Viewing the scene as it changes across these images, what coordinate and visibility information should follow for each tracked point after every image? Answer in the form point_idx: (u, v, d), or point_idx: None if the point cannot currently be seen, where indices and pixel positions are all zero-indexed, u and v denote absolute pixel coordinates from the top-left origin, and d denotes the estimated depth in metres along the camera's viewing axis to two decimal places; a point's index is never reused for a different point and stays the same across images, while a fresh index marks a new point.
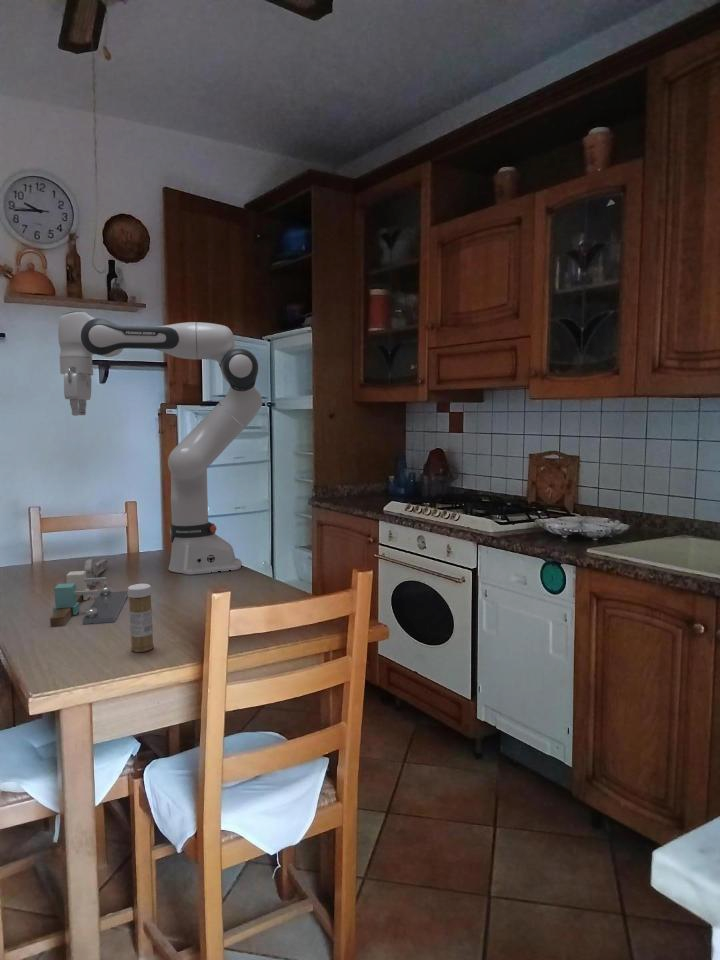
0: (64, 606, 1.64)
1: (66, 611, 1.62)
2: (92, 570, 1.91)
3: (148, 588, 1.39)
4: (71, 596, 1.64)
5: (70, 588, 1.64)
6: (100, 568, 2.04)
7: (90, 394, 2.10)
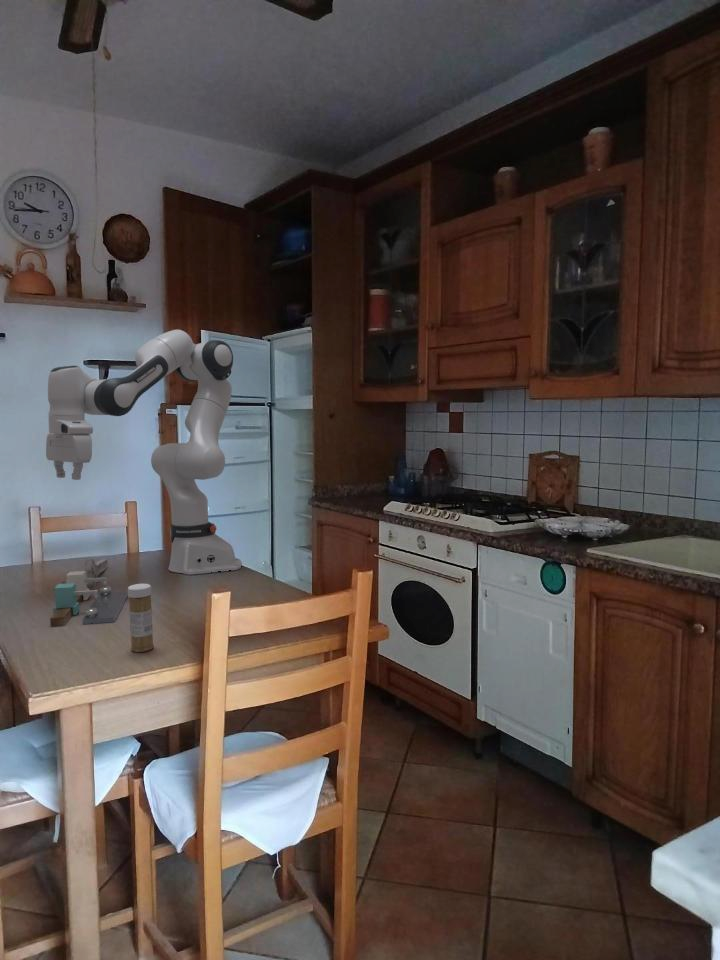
0: (64, 606, 1.64)
1: (66, 611, 1.62)
2: (92, 570, 1.91)
3: (148, 588, 1.39)
4: (71, 596, 1.64)
5: (70, 588, 1.64)
6: (100, 568, 2.04)
7: (75, 456, 1.74)
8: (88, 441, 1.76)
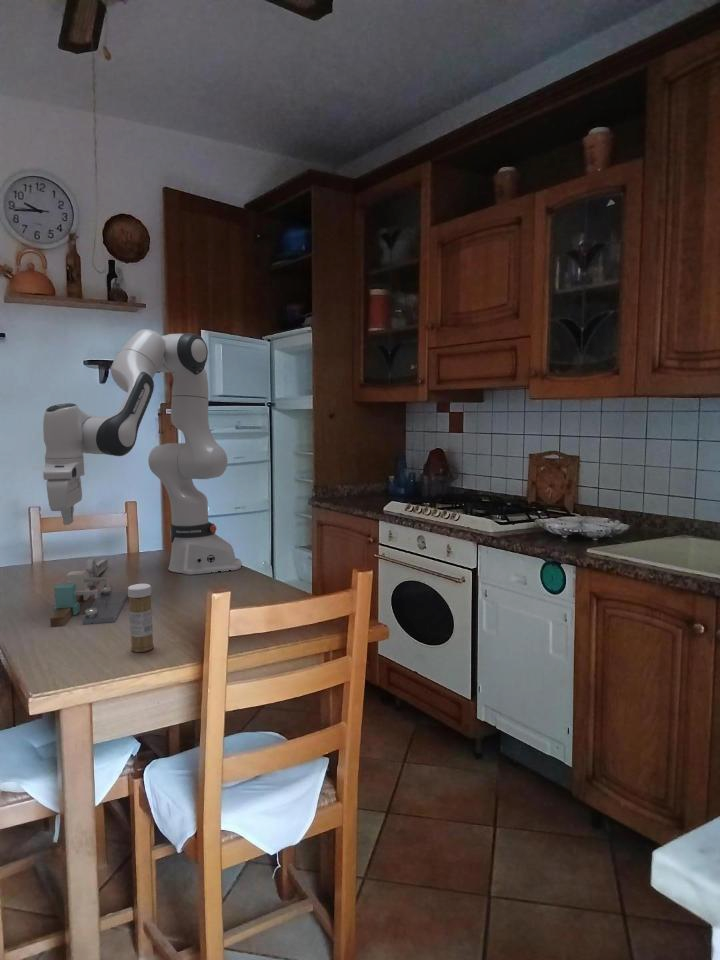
0: (64, 606, 1.64)
1: (66, 611, 1.62)
2: (93, 570, 1.91)
3: (148, 588, 1.39)
4: (71, 596, 1.64)
5: (70, 588, 1.64)
6: (101, 568, 2.04)
7: None
8: (63, 488, 1.61)
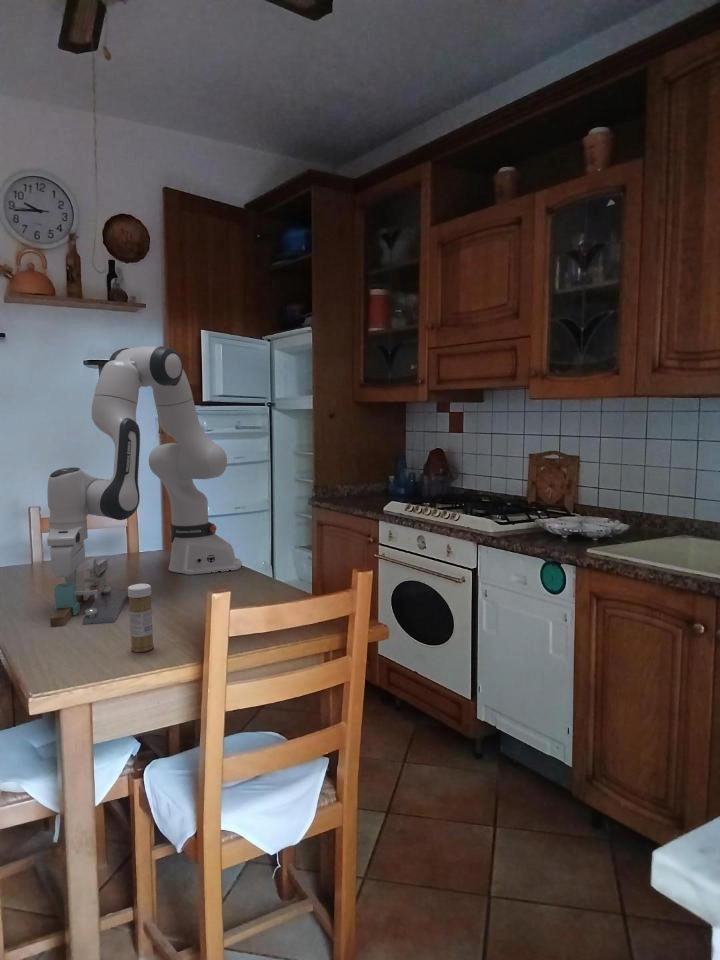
0: (64, 606, 1.64)
1: (66, 611, 1.62)
2: (94, 570, 1.91)
3: (148, 588, 1.39)
4: (71, 596, 1.64)
5: (70, 588, 1.64)
6: (101, 568, 2.04)
7: None
8: (66, 555, 1.63)
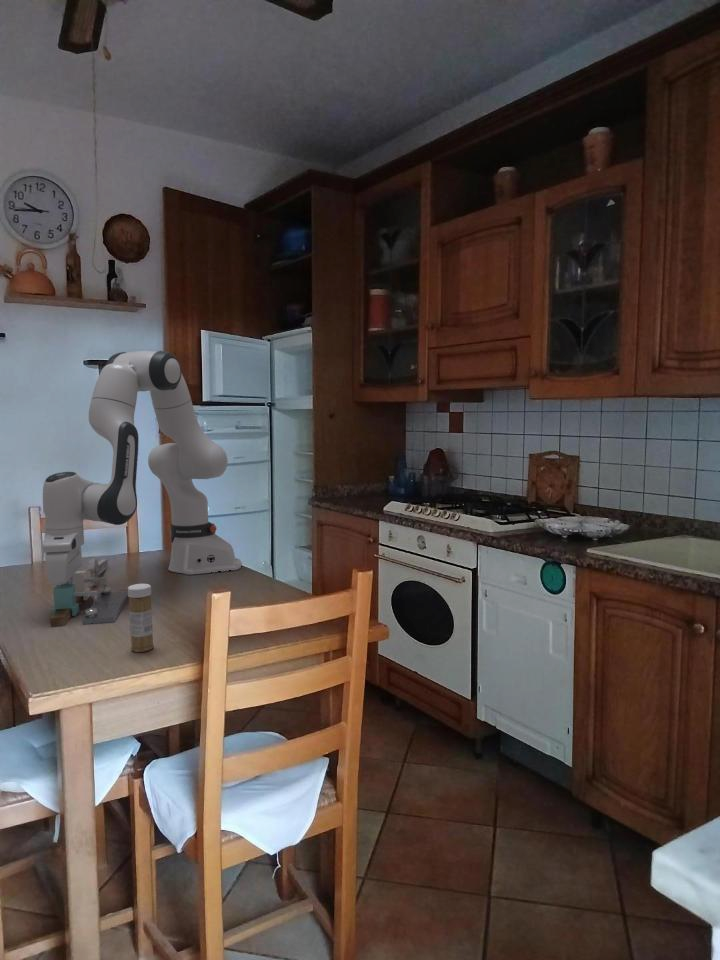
0: (63, 607, 1.63)
1: (66, 611, 1.62)
2: (95, 570, 1.91)
3: (148, 588, 1.39)
4: (70, 597, 1.63)
5: (69, 589, 1.63)
6: (101, 568, 2.04)
7: None
8: (62, 561, 1.59)
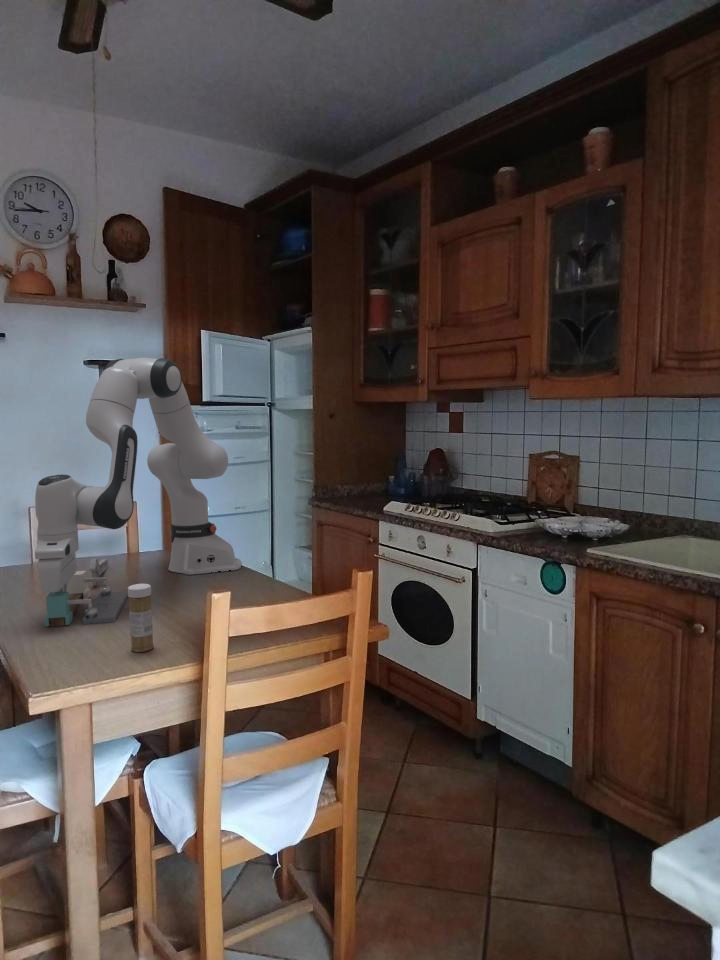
0: (56, 616, 1.56)
1: None
2: (96, 569, 1.91)
3: (148, 588, 1.39)
4: (64, 605, 1.56)
5: (63, 597, 1.56)
6: (102, 568, 2.04)
7: None
8: (55, 568, 1.52)
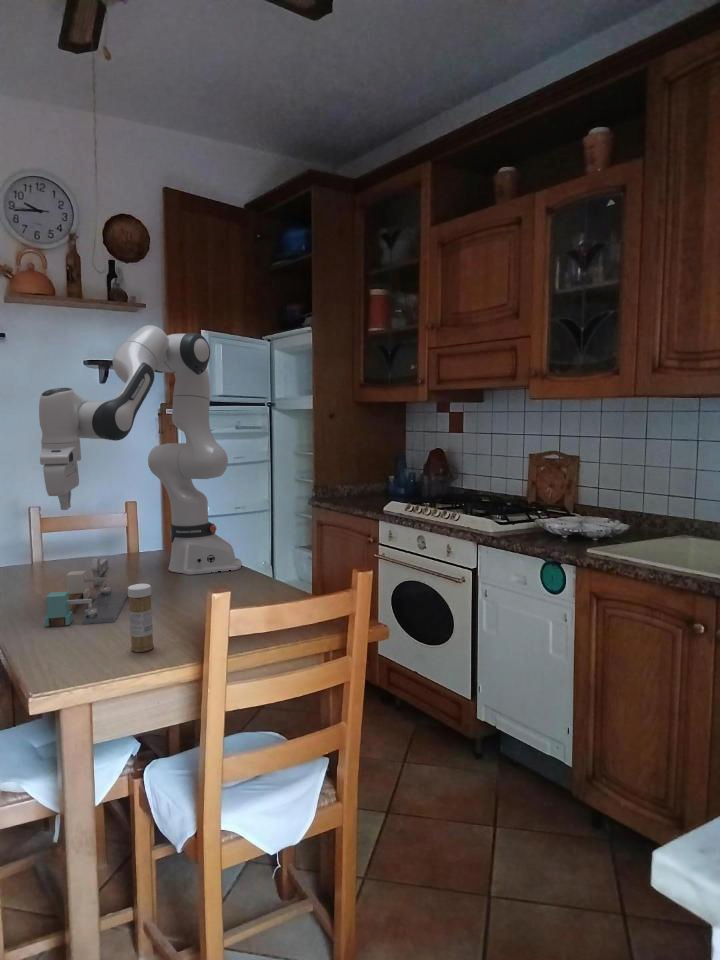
0: (56, 616, 1.56)
1: None
2: (97, 569, 1.91)
3: (148, 588, 1.39)
4: (64, 605, 1.56)
5: (63, 597, 1.56)
6: (103, 568, 2.04)
7: None
8: (60, 473, 1.60)
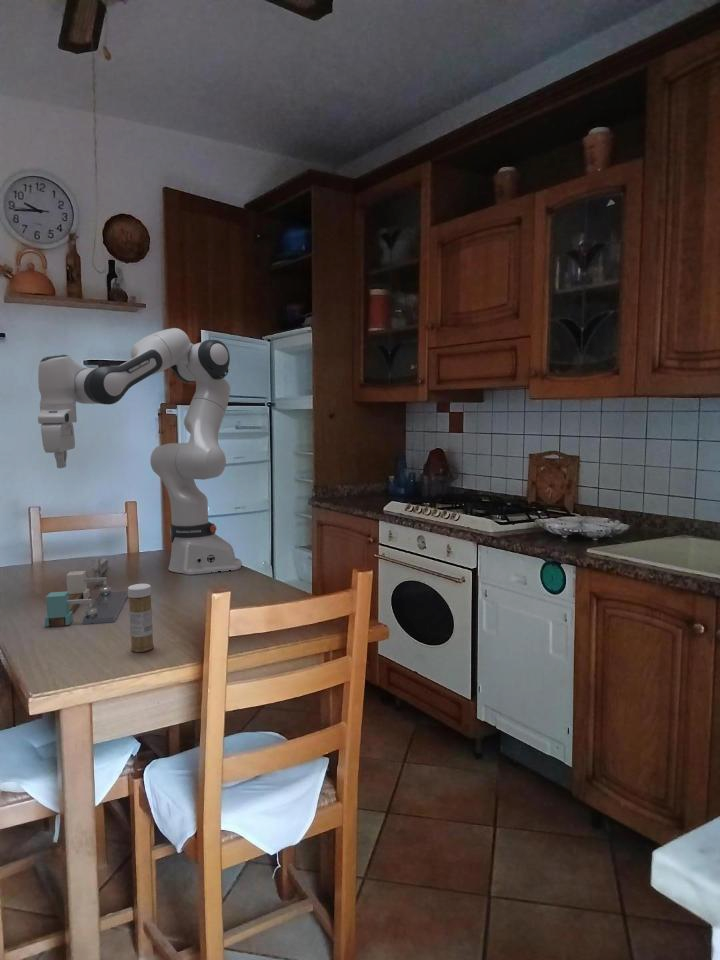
0: (56, 616, 1.56)
1: None
2: (98, 569, 1.92)
3: (148, 588, 1.39)
4: (64, 605, 1.56)
5: (63, 597, 1.56)
6: (103, 567, 2.04)
7: None
8: (56, 431, 1.73)
